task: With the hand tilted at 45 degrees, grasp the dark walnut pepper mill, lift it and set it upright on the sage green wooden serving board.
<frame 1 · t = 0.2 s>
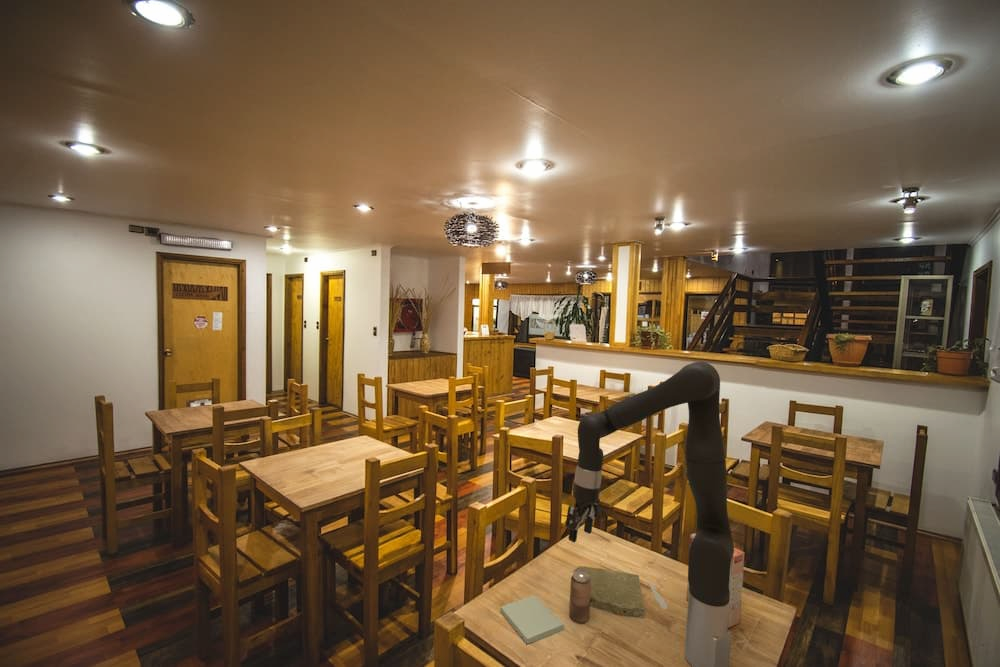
hand: (580, 536, 130), 21 cm above the table, tool pointing down, fingers open, 8 cm apart
butter knife: (647, 583, 145), on the table
cracker box: (712, 612, 132), on the table
pepper mill: (579, 616, 127), on the table
decorative tile: (608, 596, 138), on the table
serving board: (531, 620, 125), on the table
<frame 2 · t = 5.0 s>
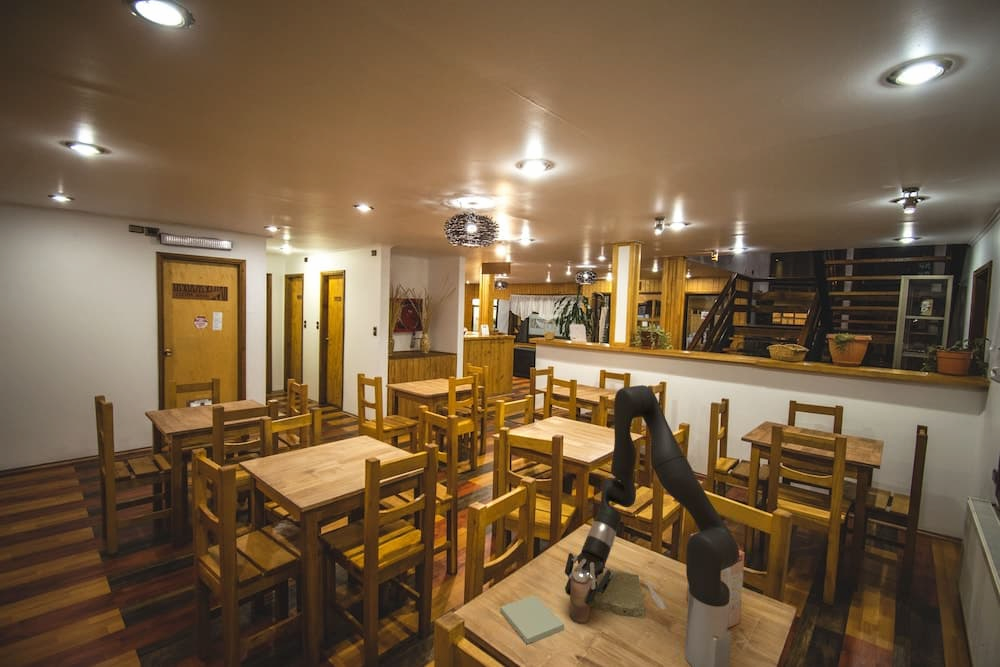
hand: (577, 598, 125), 6 cm above the table, tool tilted 45°, fingers closed on pepper mill, 5 cm apart
pepper mill: (579, 616, 127), on the table, touching gripper
everything else where it was.
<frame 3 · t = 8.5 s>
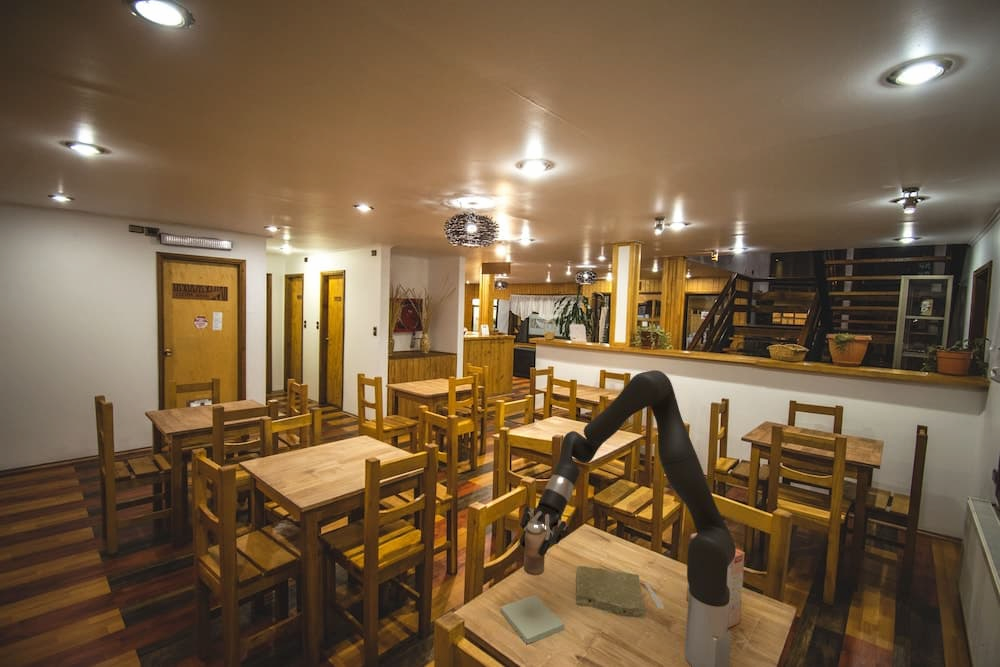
hand: (530, 550, 122), 21 cm above the table, tool tilted 45°, fingers closed on pepper mill, 5 cm apart
pepper mill: (533, 569, 124), point 15 cm above the table, touching gripper
when the fingers open (10 cm above the table, at t = 11.9 s): pepper mill drops 2 cm, resting on serving board.
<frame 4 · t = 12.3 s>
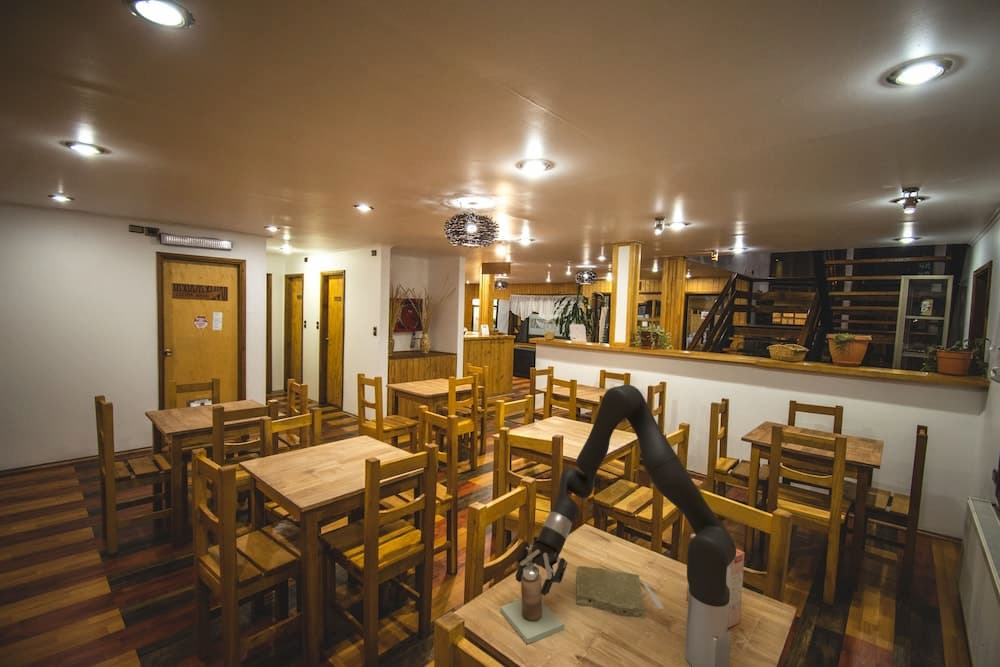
hand: (529, 587, 123), 10 cm above the table, tool tilted 45°, fingers open, 8 cm apart
pepper mill: (531, 614, 125), point 2 cm above the table, touching serving board
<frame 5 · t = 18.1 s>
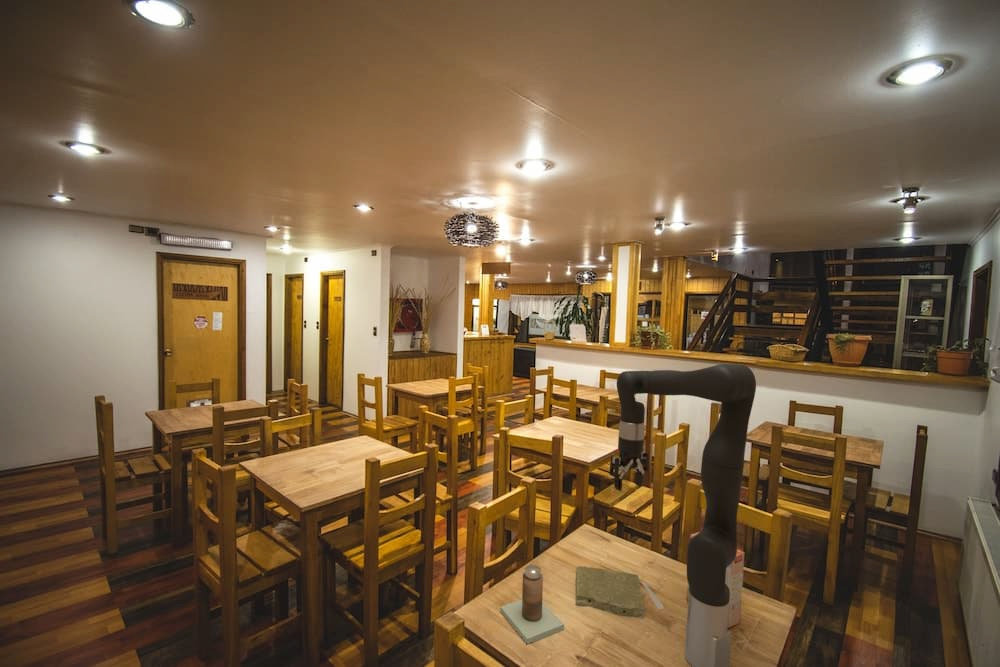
hand: (628, 487, 138), 33 cm above the table, tool pointing down, fingers open, 8 cm apart
at the end: pepper mill inside the target area on the serving board (0.2 cm from its centre), point 1.6 cm above the serving board's base; pepper mill tilted 1°; the gripper is holding nothing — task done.
